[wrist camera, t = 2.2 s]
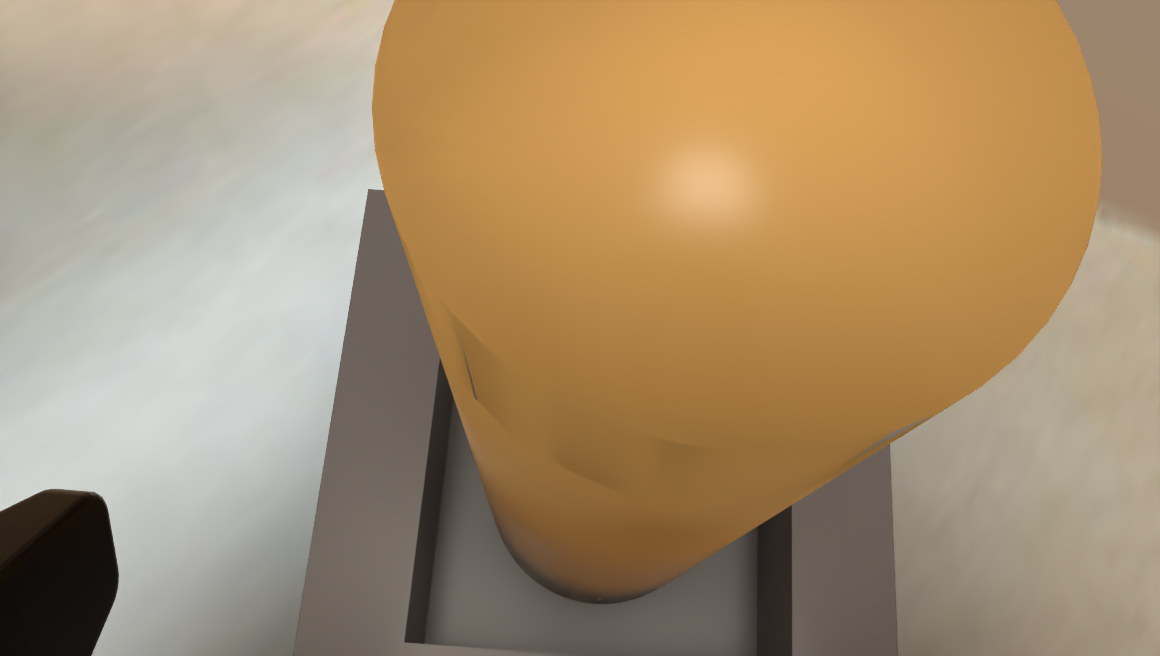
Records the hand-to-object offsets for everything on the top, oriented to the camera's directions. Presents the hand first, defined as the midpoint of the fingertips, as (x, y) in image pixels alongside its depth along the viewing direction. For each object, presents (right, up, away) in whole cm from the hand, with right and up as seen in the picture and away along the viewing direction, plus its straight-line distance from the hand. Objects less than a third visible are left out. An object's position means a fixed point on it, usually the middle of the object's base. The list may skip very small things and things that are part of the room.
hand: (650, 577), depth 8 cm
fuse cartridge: (0, -1, +10) cm, 10 cm away
